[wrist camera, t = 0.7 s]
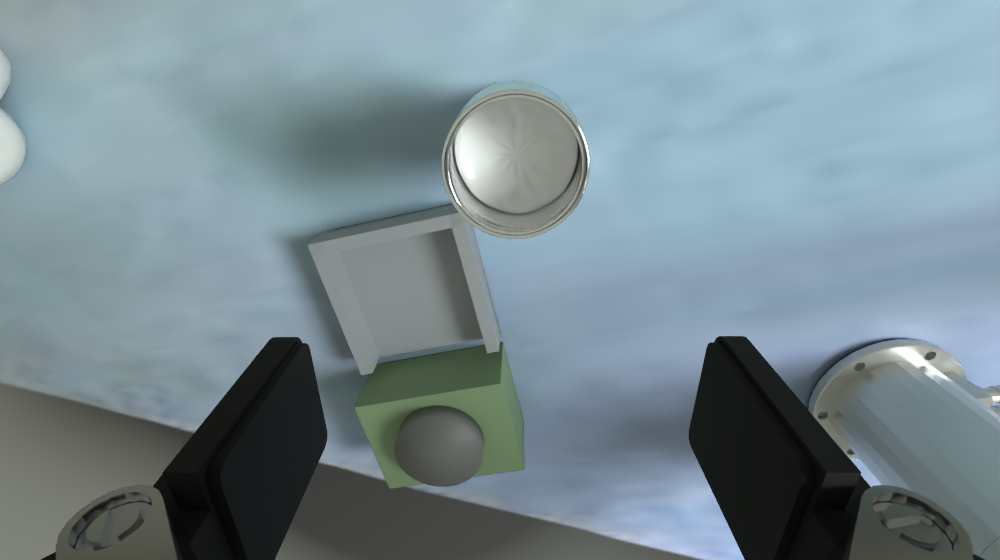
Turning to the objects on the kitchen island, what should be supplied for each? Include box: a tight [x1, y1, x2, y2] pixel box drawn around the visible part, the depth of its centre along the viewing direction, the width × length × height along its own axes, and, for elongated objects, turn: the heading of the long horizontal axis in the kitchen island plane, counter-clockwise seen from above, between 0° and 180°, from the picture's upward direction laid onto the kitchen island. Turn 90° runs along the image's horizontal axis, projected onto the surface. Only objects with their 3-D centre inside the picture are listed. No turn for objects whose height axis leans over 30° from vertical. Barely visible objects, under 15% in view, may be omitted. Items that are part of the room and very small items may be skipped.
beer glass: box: [441, 80, 590, 239], centre depth 28 cm, size 7×7×15 cm
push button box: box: [307, 204, 524, 489], centre depth 39 cm, size 12×22×8 cm, turn 13°
